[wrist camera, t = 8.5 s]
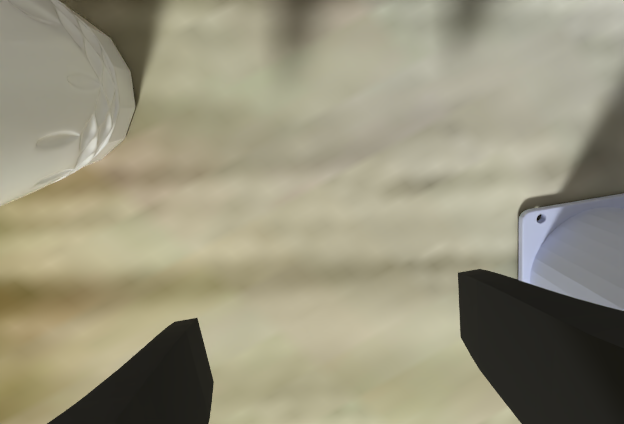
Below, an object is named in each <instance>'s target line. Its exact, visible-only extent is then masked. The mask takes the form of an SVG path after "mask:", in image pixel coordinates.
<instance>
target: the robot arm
mask: <svg viewBox="0 0 624 424" xmlns="http://www.w3.org/2000/svg"><path fill="white" fill-rule="evenodd" d="M540 214H541V218H540V219H539V220H538V221H537V220H536V219H537V217H538V215H540ZM458 284H459V308H460V331H461V338H462V340H463V342H464V344H465V346H466V347H467V349H468V351H469V353H470V355H471V356H472V358H473V359H474V361H475V363H476V364H477V366H478V368H479V369H480V371H481V372H482V373H483V375H484V376H485V377H486V378H487V380H488V381H489V382H490V384H491V385H492V386H493V388H494V389H495V390H496V391H497V393H498V394H499V395H500V397H501V398H502V399H503V400H504V402H505V403H506V404H507V406H508V407H509V408H510V409H511V411H512V412H513V413H514V414H515V416H516V417H517V418H518V420H519V421H520V422H521V423H522V424H624V193H623V194H617V195H611V196H605V197H599V198H593V199H587V200H581V201H575V202H569V203H563V204H557V205H551V206H545V207H539V208H533V209H527V210H525V211H523V212H522V213H521V215H520V216H519V267H518V280H517V279H514V278H511V277H507V276H504V275H501V274H498V273H494V272H490V271H486V270H481V269H477V270H472V271H466V272H460V273H458ZM213 383H214V382H213V378H212V374H211V370H210V366H209V362H208V358H207V354H206V350H205V346H204V342H203V338H202V335H201V331H200V327H199V323H198V319H197V318H194V319H189V320H183V321H177V322H174V323H172V324H171V325H169V326H168V327H167V328H166V329H164V330H163V331H162V332H161V333H160V334H159V335H157V336H156V337H155V338H154V339H153V340H152V341H150V342H149V343H148V344H147V345H146V346H145V347H144V348H143V349H141V350H140V351H139V352H138V353H137V354H136V355H134V356H133V357H132V358H131V359H130V360H129V361H128V362H126V363H125V364H124V365H123V366H122V367H121V368H119V369H118V370H117V371H116V372H115V373H113V374H112V375H111V376H110V377H108V378H107V379H106V380H105V381H103V382H102V383H101V384H100V385H98V386H97V387H96V388H95V389H94V390H92V391H91V392H90V393H89V394H87V395H86V396H85V397H84V398H82V399H81V400H80V401H78V402H77V403H76V404H74V405H73V406H72V407H70V408H69V409H67V410H66V411H65V412H63V413H62V414H60V415H59V416H58V417H56V418H55V419H53V420H52V421H50V422H49V423H47V424H208V423H209V418H210V410H211V402H212V393H213Z"/></svg>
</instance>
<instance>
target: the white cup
mask: <svg viewBox="0 0 624 424" xmlns="http://www.w3.org/2000/svg"><path fill="white" fill-rule="evenodd" d="M134 111H135V99H134V91H133V84H132V76H131V71H130V69H129V68H128V66H127V65H126V63H125V61H124V60H123V58H122V56H121V55H120V53H119V51H118V50H117V48H116V46H115V45H114V43H113V41H112V40H111V38H110V37H109V36H107V35H106V34H104V33H103V32H102V31H100V30H99V29H98V28H96V27H95V26H94V25H92V24H91V23H90V22H88V21H87V20H86V19H84V18H83V17H82V16H80V15H79V14H78V13H76V12H74V11H73V10H71V9H69V8H68V7H67V6H66V5H65V4H64V3H62V2H61V1H59V0H0V207H1V206H3V205H5V204H8V203H10V202H12V201H15V200H17V199H20V198H22V197H24V196H27V195H29V194H31V193H33V192H35V191H38V190H40V189H42V188H44V187H46V186H47V185H49V184H52V183H54V182H56V181H59V180H61V179H63V178H65V177H67V176H69V175H71V174H72V173H74V172H76V171H77V170H79V169H81V168H82V167H85V166H87V165H90V164H93V163H95V162H98V161H100V160H102V159H103V158H104V157H105V156H106V155H107V154H108V153H109V152H111V151H112V150H113V149H114V148H115V147H116V146H117V145H118V144H119V143H120V142H122V141H123V140H124V139H125V137H126V134H127V131H128V128H129V125H130V122H131V119H132V116H133V114H134Z"/></svg>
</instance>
